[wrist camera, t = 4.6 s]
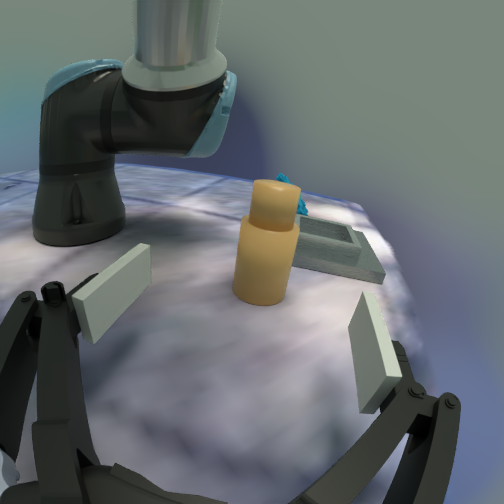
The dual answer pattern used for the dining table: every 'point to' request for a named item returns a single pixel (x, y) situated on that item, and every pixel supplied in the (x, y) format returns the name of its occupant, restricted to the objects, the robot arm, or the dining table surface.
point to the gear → (301, 204)
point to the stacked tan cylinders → (267, 243)
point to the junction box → (335, 250)
